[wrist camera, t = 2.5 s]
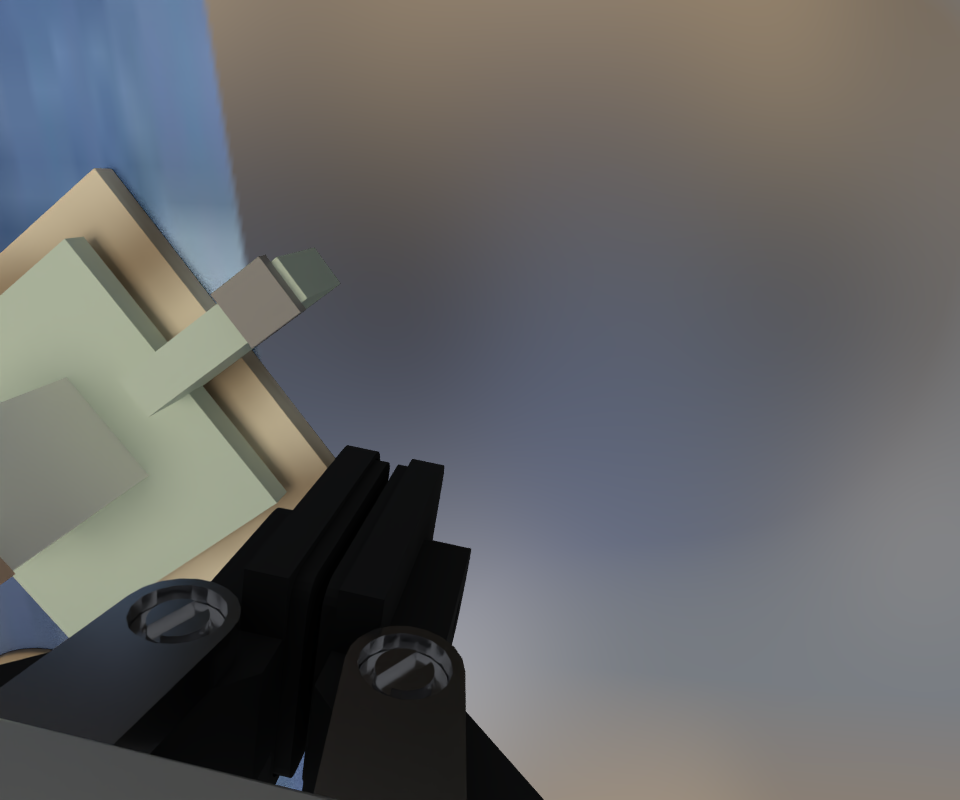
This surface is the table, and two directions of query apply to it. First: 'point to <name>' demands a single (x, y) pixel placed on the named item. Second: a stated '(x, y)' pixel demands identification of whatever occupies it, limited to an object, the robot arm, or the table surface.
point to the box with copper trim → (54, 470)
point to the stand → (171, 308)
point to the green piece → (146, 414)
